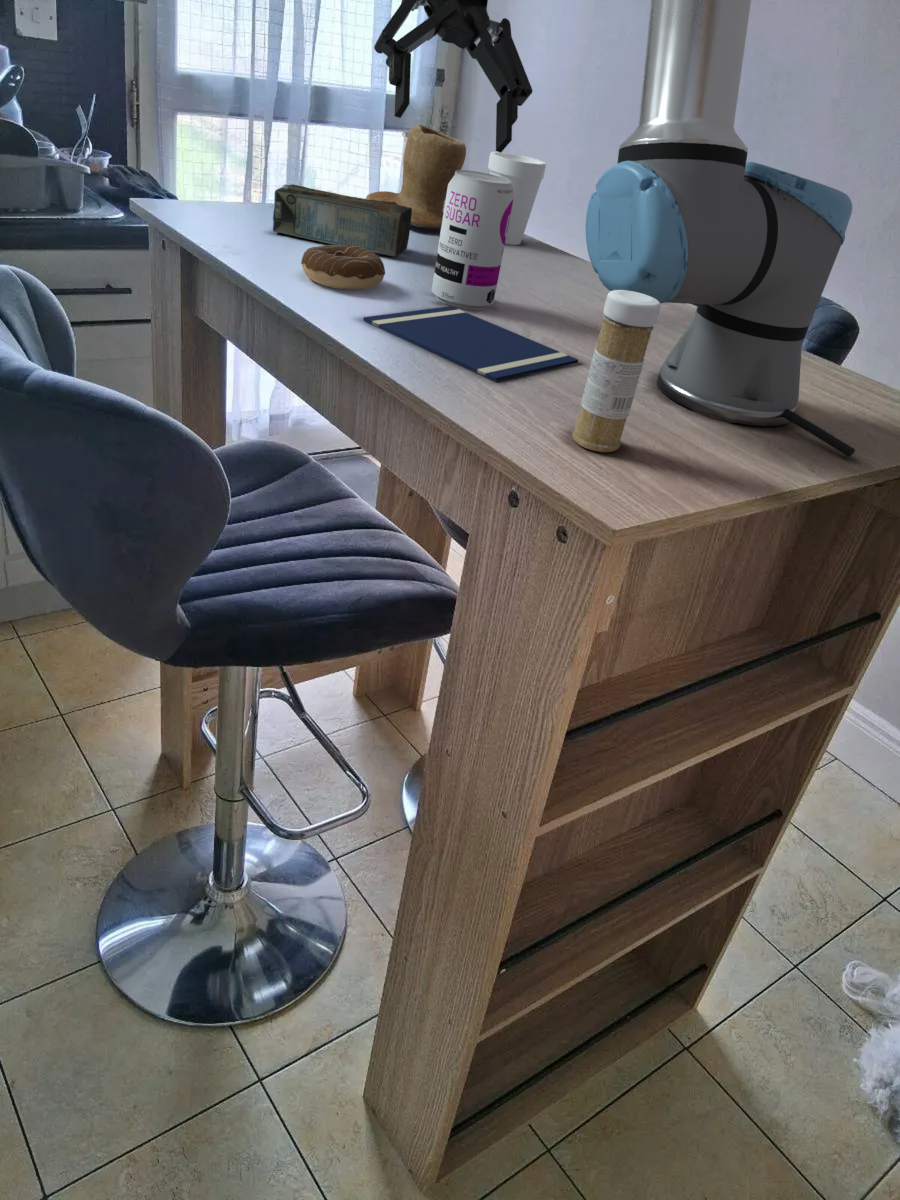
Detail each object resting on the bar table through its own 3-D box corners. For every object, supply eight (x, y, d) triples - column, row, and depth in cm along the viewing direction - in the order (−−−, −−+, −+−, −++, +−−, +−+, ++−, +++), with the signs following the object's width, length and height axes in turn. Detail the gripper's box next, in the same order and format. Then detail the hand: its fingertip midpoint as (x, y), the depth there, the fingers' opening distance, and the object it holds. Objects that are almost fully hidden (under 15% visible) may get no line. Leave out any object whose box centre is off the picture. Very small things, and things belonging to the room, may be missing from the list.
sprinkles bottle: (607, 434, 85) (648, 290, 78) (627, 455, 81) (671, 306, 74) (563, 432, 84) (600, 285, 76) (581, 453, 80) (621, 301, 73)
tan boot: (466, 235, 153) (483, 138, 145) (407, 233, 147) (421, 131, 139) (419, 213, 163) (432, 121, 155) (362, 210, 156) (372, 114, 148)
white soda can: (494, 299, 120) (517, 178, 112) (490, 315, 113) (515, 188, 105) (434, 287, 120) (453, 166, 112) (427, 303, 113) (447, 174, 105)
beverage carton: (287, 224, 137) (290, 177, 134) (409, 250, 136) (415, 204, 133) (270, 232, 130) (273, 184, 127) (398, 260, 130) (405, 212, 126)
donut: (380, 300, 111) (384, 266, 108) (294, 285, 110) (297, 251, 107) (385, 279, 119) (389, 247, 117) (306, 265, 118) (308, 233, 116)
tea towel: (577, 363, 103) (578, 359, 102) (495, 381, 92) (496, 377, 92) (450, 309, 112) (450, 305, 112) (363, 320, 102) (363, 316, 102)
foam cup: (525, 250, 151) (542, 166, 144) (472, 238, 152) (486, 154, 145) (532, 240, 159) (548, 161, 152) (481, 229, 160) (495, 149, 153)
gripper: (529, 29, 120) (527, 175, 116) (352, -45, 109) (345, 114, 106) (560, -12, 113) (559, 142, 110) (374, -95, 102) (367, 72, 99)
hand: (454, 128), depth 108 cm, fingers open, 13 cm apart
